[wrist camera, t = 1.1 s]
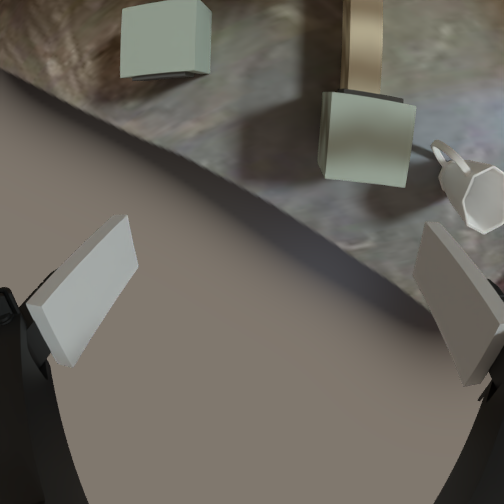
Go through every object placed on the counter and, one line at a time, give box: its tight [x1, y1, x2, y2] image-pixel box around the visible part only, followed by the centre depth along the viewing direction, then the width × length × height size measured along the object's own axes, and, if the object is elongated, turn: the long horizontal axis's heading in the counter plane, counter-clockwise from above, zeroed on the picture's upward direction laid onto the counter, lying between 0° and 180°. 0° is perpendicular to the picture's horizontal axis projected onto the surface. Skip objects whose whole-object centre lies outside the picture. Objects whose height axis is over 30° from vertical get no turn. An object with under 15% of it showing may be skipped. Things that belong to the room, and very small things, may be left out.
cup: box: [431, 140, 504, 234], centre depth 26 cm, size 7×10×8 cm
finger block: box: [120, 0, 212, 81], centre depth 24 cm, size 7×7×6 cm
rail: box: [317, 0, 416, 188], centre depth 23 cm, size 19×7×8 cm, turn 178°
